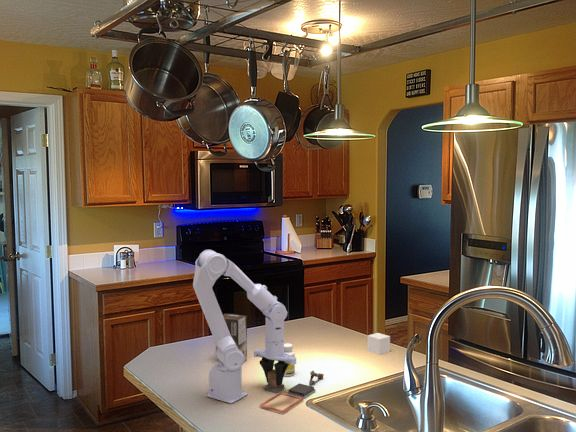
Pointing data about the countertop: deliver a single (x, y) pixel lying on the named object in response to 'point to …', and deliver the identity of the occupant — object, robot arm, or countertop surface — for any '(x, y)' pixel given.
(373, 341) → the white cube
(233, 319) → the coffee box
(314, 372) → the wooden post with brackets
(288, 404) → the red rimmed tray
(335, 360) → the countertop surface
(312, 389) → the ink pad
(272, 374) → the stamp
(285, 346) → the supplement bottle
